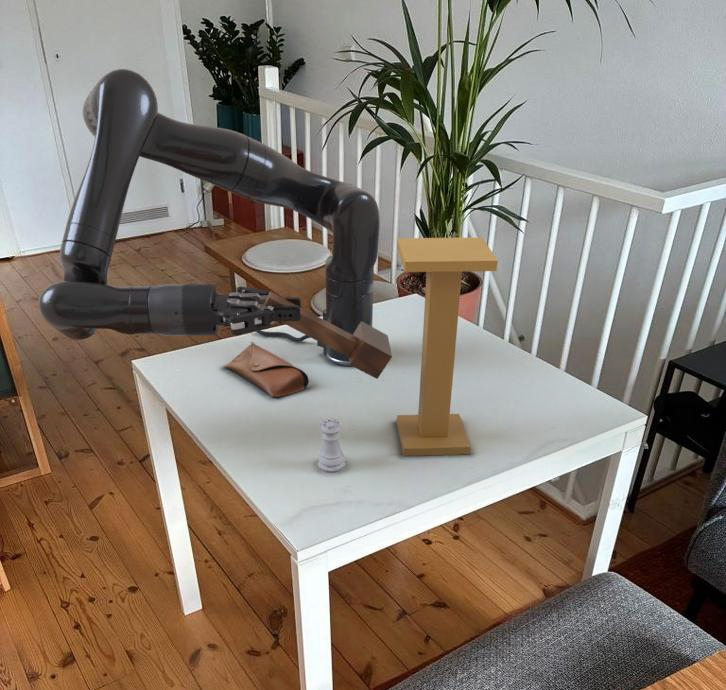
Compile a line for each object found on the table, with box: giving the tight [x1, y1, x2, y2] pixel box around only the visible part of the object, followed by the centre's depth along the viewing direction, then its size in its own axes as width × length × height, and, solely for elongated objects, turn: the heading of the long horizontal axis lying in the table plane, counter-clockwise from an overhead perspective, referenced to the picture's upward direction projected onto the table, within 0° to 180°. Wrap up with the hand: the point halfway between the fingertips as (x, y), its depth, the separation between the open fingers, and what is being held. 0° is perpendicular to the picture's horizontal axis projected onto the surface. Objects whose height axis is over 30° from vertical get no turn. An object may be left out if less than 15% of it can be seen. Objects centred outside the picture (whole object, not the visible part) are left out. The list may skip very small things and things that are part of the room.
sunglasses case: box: [223, 341, 309, 398], centre depth 142 cm, size 18×7×7 cm, turn 42°
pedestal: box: [396, 237, 499, 457], centre depth 116 cm, size 13×11×32 cm
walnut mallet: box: [263, 290, 393, 380], centre depth 112 cm, size 20×8×4 cm, turn 93°
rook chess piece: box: [317, 417, 346, 473], centre depth 115 cm, size 4×4×8 cm
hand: (299, 309), depth 110 cm, fingers closed on walnut mallet, 2 cm apart
